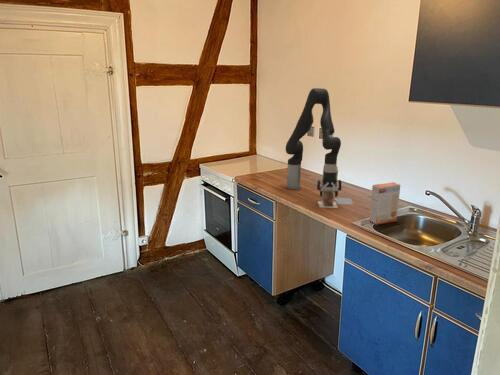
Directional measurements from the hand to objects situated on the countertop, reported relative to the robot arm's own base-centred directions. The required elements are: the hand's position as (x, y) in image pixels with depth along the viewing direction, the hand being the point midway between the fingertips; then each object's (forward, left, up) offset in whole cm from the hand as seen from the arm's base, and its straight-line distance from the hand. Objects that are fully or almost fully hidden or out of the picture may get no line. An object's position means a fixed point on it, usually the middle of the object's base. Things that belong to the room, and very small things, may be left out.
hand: (328, 196), depth 229 cm
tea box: (+6, +36, -6) cm, 37 cm away
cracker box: (+26, -26, -6) cm, 37 cm away
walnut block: (0, 0, -5) cm, 5 cm away
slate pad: (+11, +7, -5) cm, 14 cm away
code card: (0, 0, -5) cm, 5 cm away
